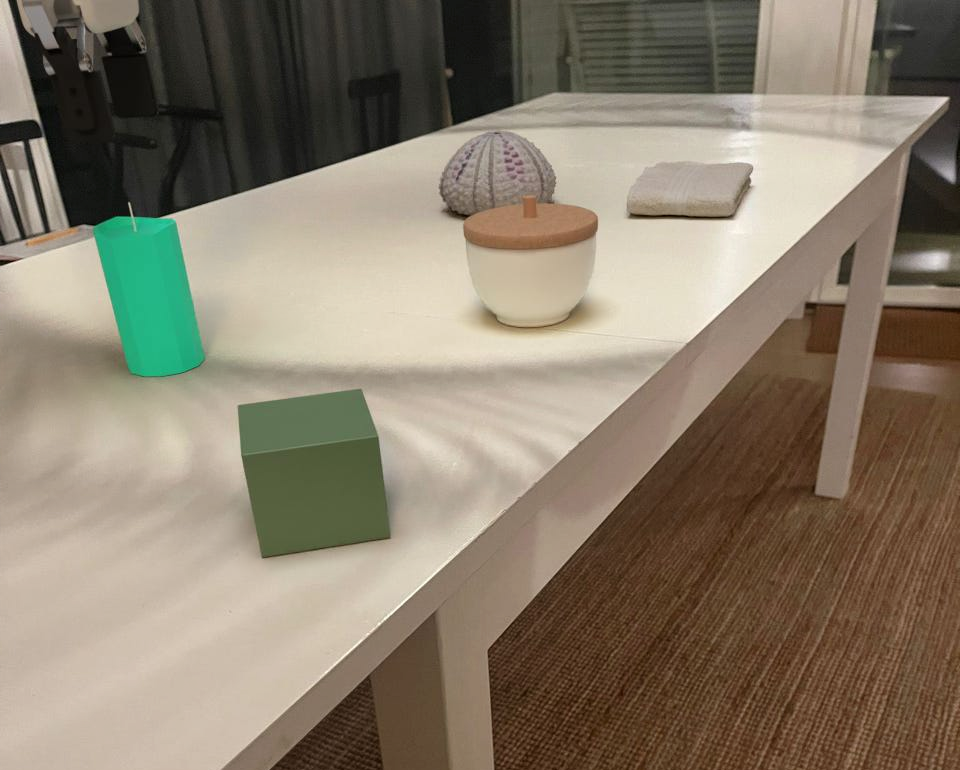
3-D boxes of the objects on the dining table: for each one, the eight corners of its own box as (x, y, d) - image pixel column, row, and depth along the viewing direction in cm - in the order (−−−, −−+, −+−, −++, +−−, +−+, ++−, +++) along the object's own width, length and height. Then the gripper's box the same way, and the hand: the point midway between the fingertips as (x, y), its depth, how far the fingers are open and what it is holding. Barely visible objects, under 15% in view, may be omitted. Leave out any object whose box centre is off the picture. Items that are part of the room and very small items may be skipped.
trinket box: (443, 326, 86) (434, 206, 80) (512, 290, 93) (508, 178, 88) (555, 344, 81) (554, 217, 75) (619, 305, 88) (622, 187, 82)
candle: (115, 364, 82) (73, 204, 76) (183, 344, 86) (149, 189, 79) (147, 382, 79) (106, 216, 72) (218, 361, 82) (185, 200, 75)
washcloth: (753, 184, 123) (755, 155, 121) (736, 221, 109) (739, 189, 107) (653, 183, 126) (654, 156, 124) (624, 219, 112) (625, 188, 110)
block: (261, 558, 55) (240, 455, 52) (256, 500, 61) (237, 404, 58) (390, 538, 56) (378, 435, 53) (373, 483, 62) (361, 387, 59)
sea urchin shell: (560, 218, 114) (560, 138, 110) (438, 225, 114) (432, 146, 110) (553, 192, 125) (552, 119, 120) (441, 199, 125) (436, 126, 121)
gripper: (36, -169, 70) (106, 112, 80) (-89, -188, 56) (14, 155, 66) (144, -179, 70) (201, 105, 79) (45, -201, 55) (129, 147, 65)
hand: (116, 127), depth 73 cm, fingers open, 9 cm apart
